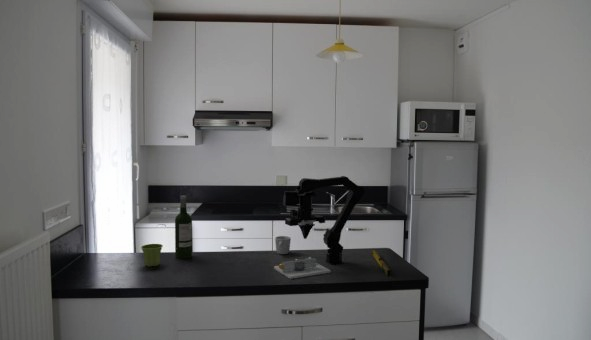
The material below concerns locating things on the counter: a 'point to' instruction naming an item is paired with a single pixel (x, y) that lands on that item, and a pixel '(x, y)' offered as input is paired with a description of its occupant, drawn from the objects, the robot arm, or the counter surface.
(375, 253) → the spirit level
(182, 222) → the wine bottle
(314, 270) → the white mechanism board
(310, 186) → the robot arm
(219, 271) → the counter surface
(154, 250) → the plant pot
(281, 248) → the cup
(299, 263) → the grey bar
